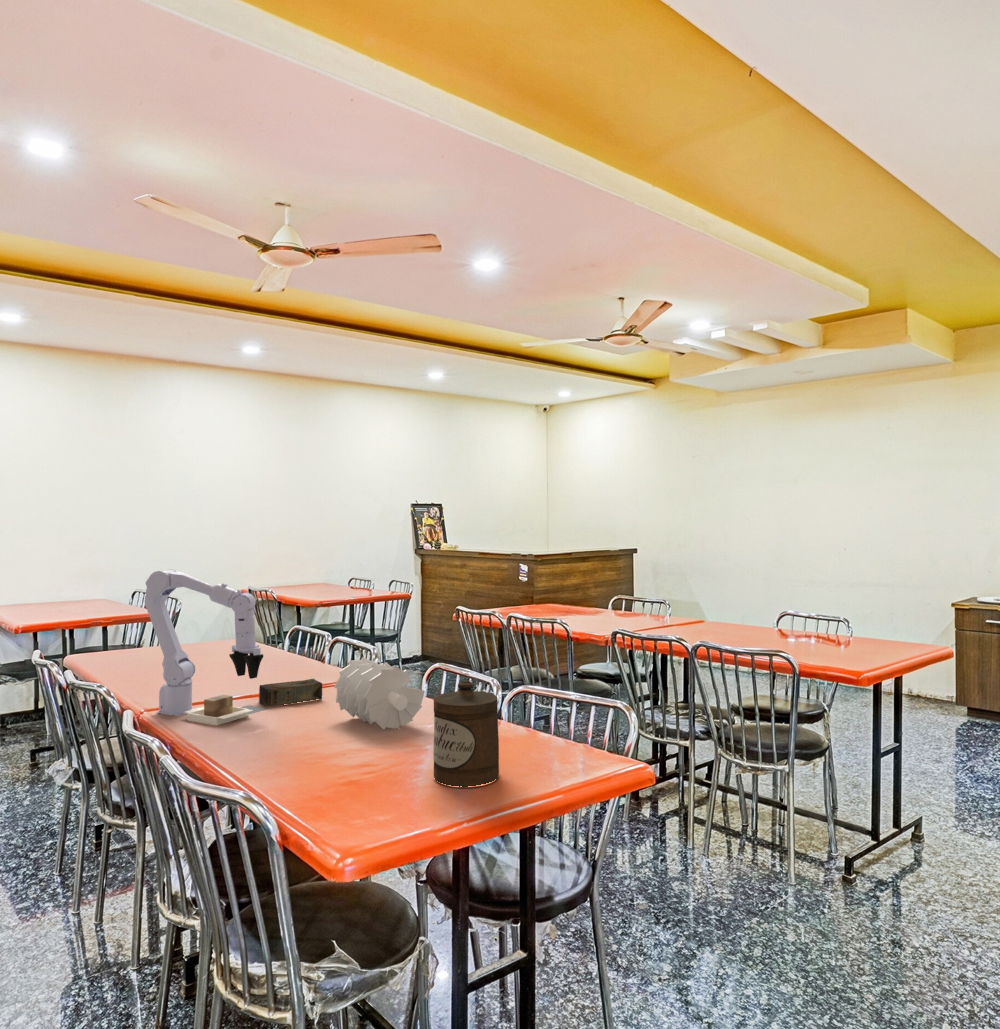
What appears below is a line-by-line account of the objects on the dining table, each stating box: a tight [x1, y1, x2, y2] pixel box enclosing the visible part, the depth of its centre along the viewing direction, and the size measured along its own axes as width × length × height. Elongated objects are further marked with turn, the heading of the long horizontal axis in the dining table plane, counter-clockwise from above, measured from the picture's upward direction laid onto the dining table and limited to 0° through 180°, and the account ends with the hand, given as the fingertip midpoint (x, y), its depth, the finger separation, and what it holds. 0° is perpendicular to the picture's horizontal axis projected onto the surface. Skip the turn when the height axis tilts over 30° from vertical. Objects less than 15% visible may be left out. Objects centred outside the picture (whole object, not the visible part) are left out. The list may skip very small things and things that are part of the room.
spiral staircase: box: [333, 656, 426, 731], centre depth 216 cm, size 18×18×25 cm
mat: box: [239, 705, 269, 715], centre depth 230 cm, size 9×9×1 cm
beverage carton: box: [258, 678, 323, 708], centre depth 242 cm, size 8×19×7 cm, turn 127°
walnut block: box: [203, 694, 234, 717], centre depth 220 cm, size 7×4×6 cm, turn 152°
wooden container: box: [432, 679, 500, 787], centre depth 169 cm, size 15×15×22 cm
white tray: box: [183, 706, 253, 726], centre depth 220 cm, size 17×12×2 cm
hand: (247, 676), depth 228 cm, fingers open, 7 cm apart
